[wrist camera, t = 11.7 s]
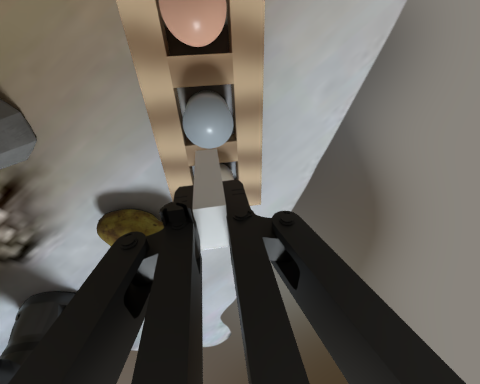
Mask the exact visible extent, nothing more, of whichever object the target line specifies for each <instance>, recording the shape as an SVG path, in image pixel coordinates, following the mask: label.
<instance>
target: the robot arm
mask: <svg viewBox="0 0 480 384" xmlns="http://www.w3.org/2000/svg"><path fill="white" fill-rule="evenodd" d="M159 213H160V216H161V219H162V222H163V225H164V228H163V229H162V230H160V231H159V232H156V233H154V234H151V235H149V236H145V234H143V233H142V232H138V231H136V232H130V233H127V234H124V235H123V236H121V237H119V238H118V239H117V240H116V241H115V242H114V243H113V245H112V246H111V247H110V249H109V250H108V251H107V253H106V254H105V255H104V257H103V258H102V259H101V261H100V262H99V263H98V265H97V266H96V267H95V269H94V270H93V271H92V273H91V274H90V275H89V277H88V278H87V279H86V281H85V282H84V283H83V285H82V286H81V287H80V289H79V290H78V291H77V293H76V294H75V293H68V292H47V293H42V294H38V295H35V296H32V297H30V298H29V299H27V300H26V301H25V303H24V304H23V305H22V307H21V308H20V310H19V311H18V313H17V315H16V319H15V320H16V321H15V323H14V326H13V329H12V332H11V335H10V339H9V342H8V345H7V347H6V348H5V350H4V352H3V353H2V355H1V356H0V384H116V383H117V381H118V379H119V376H120V374H121V372H122V369H123V367H124V365H125V362H126V360H127V358H128V355H129V353H130V351H131V348H132V346H133V344H134V341H135V339H136V337H137V334H138V332H139V330H140V328H141V325H142V323H143V321H144V325H143V330H142V335H141V340H140V345H139V349H138V354H137V360H136V364H135V369H134V374H133V379H132V383H131V384H203V356H202V355H203V353H202V350H203V349H202V258H201V253H200V247H201V251H202V250H208V249H215V248H222V247H229V246H230V253H231V263H232V268H233V275H234V282H235V289H236V296H237V303H238V310H239V318H240V325H241V331H242V339H243V346H244V353H245V360H246V366H247V374H248V381H249V384H309V381H308V378H307V374H306V371H305V368H304V365H303V362H302V359H301V356H300V353H299V350H298V346H297V343H296V340H295V337H294V334H293V331H292V328H291V325H290V322H289V319H288V316H287V312H286V310H285V306H284V303H283V300H282V297H281V294H280V291H279V288H278V285H277V281H276V278H275V275H274V272H273V269H272V266H271V263H272V264H273V266H274V268H275V269H276V270H277V272H278V274H279V275H280V277H281V279H282V280H283V282H284V283H285V284H286V286H287V288H288V289H289V291H290V293H291V294H292V295H293V297H294V299H295V300H296V302H297V303H298V305H299V306H300V308H301V310H302V311H303V313H304V314H305V316H306V317H307V319H308V320H309V322H310V324H311V325H312V327H313V328H314V330H315V331H316V333H317V335H318V336H319V338H320V339H321V341H322V342H323V344H324V345H325V347H326V349H327V350H328V352H329V353H330V355H331V356H332V358H333V360H334V361H335V363H336V364H337V366H338V367H339V369H340V370H341V372H342V373H343V375H344V377H345V378H346V380H347V381H348V383H349V384H466V383H465V382H464V381H463V380H462V379H461V378H460V377H459V376H458V375H457V374H456V373H455V372H454V371H453V370H452V369H451V368H450V367H449V366H448V365H447V364H446V363H445V362H444V361H443V360H442V359H441V358H440V357H439V356H438V355H437V354H436V353H435V352H434V351H433V350H432V349H431V348H430V347H429V346H428V345H427V344H426V343H425V342H424V341H423V340H422V339H421V338H420V337H419V336H418V335H417V334H416V333H415V332H414V331H413V330H412V329H411V328H410V327H409V326H408V325H407V324H406V323H405V322H404V321H403V320H402V319H401V318H400V317H399V316H398V315H397V314H396V313H395V312H394V311H393V310H392V309H391V308H390V307H389V306H388V305H387V304H386V303H385V302H384V301H383V300H382V299H381V298H380V297H379V296H378V295H377V294H376V293H375V292H374V291H373V290H372V289H371V288H370V287H369V286H368V285H367V284H366V283H365V282H364V281H363V280H362V279H361V278H360V277H359V276H358V275H357V274H356V273H355V272H354V271H353V270H352V269H351V268H350V267H349V266H348V265H347V264H346V263H345V262H344V261H343V260H342V259H341V258H340V257H339V256H338V255H337V254H336V253H335V252H334V251H333V250H332V249H331V248H330V247H329V246H328V245H327V244H326V243H325V242H324V241H323V240H322V239H321V238H320V237H319V236H318V235H317V234H316V233H315V232H314V231H313V230H312V229H311V228H310V227H309V226H308V225H307V224H306V222H304V221H303V220H302V218H300V217H299V216H298V215H297V214H295V213H293V212H290V211H280V212H277V213H275V214H274V215H273V217H272V218H265V217H260V216H258V215H256V214H254V212H253V211H252V210H251V209H250V205H249V202H248V199H247V196H246V193H245V189H244V186H243V183H242V182H240V181H239V180H238V179H237V180H228V181H222V177H221V171H220V164H219V158H218V152H217V149H210V150H200V151H196V152H195V171H194V185H190V186H181V187H179V188H178V189H177V190H176V191H175V194H174V200H173V202H171V203H169V204H167V205H165V206H164V207H162V208H161V210H160V212H159ZM270 261H271V263H270ZM144 318H145V320H144Z"/></svg>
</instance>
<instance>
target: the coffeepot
mask: <svg viewBox="0 0 480 384" xmlns="http://www.w3.org/2000/svg"><path fill="white" fill-rule="evenodd" d="M36 141H37V139H36V137H35V135H34V132H33V130H32V128H31V126H30V125H29V123H28V122H27V120H26V119H25V118H24V117H23V116H22V114H21V113H20V112H19V111H18V110H16V109H15V108H14V107H12V106H11V105H9V104H8V103H6V102H4V101H3V100H1V99H0V169H2V168H5V167H8V166H11V165H14V164H16V163H19V162H22V161H25V160H27V159H28V157H29V155H30V154H31V152H32V151H33V149H34V146H35V143H36Z"/></svg>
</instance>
